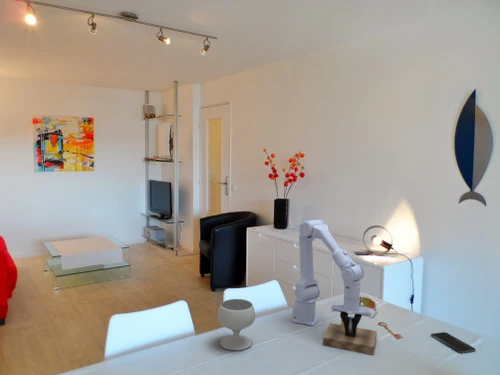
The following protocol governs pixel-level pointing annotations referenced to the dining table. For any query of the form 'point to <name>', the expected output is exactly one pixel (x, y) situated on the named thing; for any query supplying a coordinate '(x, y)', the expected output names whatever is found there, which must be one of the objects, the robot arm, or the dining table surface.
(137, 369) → the dining table surface
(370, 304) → the sunglasses
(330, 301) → the dining table surface
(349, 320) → the long pin
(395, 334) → the key
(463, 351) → the phone
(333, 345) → the hole block
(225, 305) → the chalice
